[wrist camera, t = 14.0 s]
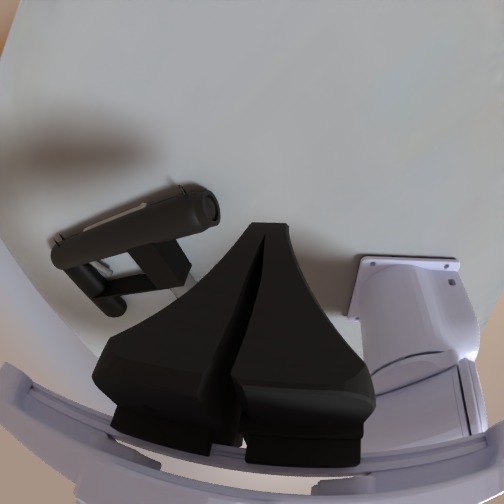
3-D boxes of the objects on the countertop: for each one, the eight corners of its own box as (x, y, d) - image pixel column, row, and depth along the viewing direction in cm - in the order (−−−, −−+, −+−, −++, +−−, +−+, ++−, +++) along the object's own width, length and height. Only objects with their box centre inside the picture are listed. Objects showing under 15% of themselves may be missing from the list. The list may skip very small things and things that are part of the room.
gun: (273, 332, 27) (188, 187, 17) (123, 340, 34) (35, 250, 24) (276, 304, 29) (203, 163, 20) (131, 319, 36) (51, 229, 26)
